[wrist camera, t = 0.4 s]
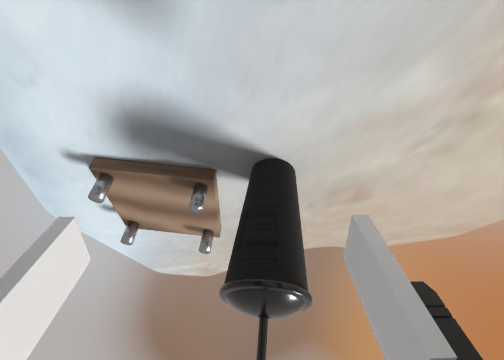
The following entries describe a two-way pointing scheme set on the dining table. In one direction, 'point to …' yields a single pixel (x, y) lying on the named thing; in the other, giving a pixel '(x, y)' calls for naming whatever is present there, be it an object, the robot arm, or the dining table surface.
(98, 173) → the peg board
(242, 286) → the drinking cup
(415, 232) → the dining table surface
